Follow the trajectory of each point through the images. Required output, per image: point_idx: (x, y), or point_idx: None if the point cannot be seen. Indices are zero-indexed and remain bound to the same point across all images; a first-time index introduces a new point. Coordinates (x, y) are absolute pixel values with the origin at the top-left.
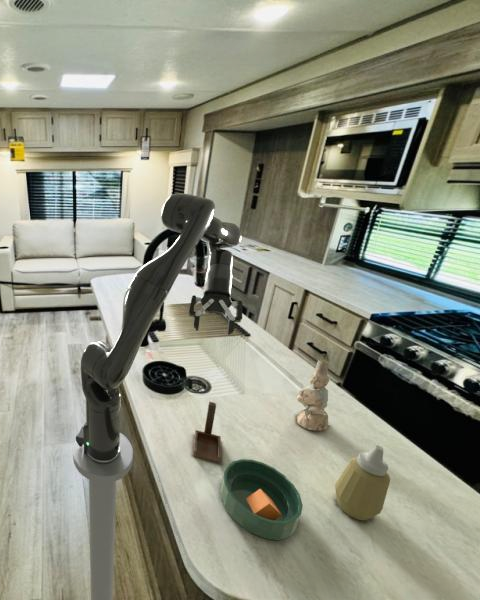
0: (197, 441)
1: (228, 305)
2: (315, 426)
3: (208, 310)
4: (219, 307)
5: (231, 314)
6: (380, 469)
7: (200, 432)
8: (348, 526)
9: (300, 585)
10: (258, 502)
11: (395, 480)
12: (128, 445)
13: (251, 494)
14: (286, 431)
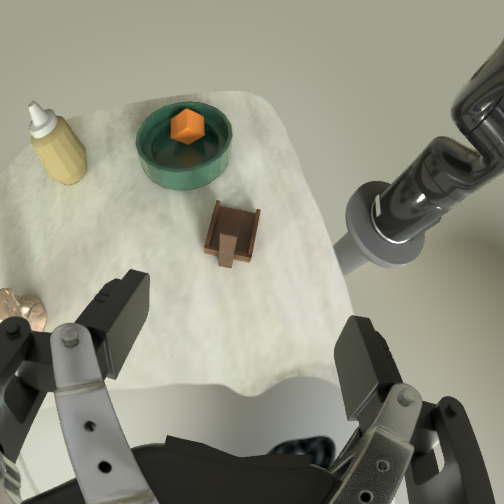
0: (247, 244)
1: (54, 493)
2: (28, 297)
3: (314, 466)
4: (181, 493)
5: (61, 375)
6: (46, 110)
7: (242, 252)
8: (95, 150)
9: (180, 98)
10: (195, 119)
11: (5, 220)
12: (360, 231)
13: (187, 162)
14: (72, 296)
